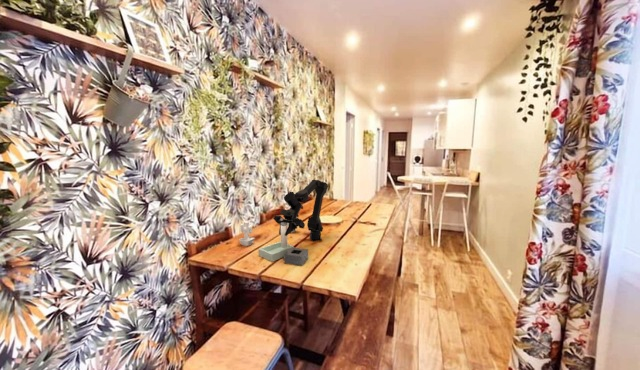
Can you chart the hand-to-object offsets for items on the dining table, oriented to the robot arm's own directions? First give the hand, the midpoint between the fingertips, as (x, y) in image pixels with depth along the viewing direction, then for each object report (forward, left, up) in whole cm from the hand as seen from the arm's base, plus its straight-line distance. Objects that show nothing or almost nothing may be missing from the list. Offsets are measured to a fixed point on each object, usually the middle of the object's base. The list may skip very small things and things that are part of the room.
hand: (282, 234), depth 141 cm
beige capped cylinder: (-1, -1, -7) cm, 7 cm away
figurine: (+13, -30, -14) cm, 35 cm away
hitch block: (-6, +6, -13) cm, 16 cm away
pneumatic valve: (-22, -41, -14) cm, 48 cm away
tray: (+1, -7, -13) cm, 15 cm away
